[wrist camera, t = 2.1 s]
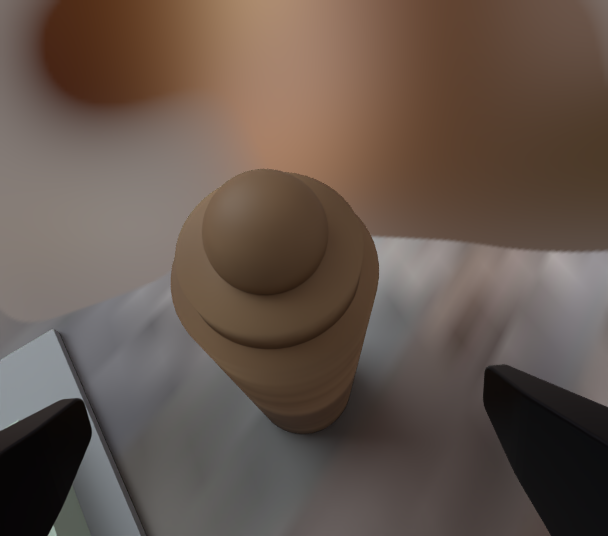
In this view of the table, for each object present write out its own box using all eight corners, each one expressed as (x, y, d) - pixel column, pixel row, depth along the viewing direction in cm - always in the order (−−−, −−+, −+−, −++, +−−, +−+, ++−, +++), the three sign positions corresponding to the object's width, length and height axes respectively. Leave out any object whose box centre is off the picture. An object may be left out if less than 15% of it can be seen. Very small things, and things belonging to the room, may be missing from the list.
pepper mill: (370, 393, 19) (458, 212, 6) (291, 455, 18) (201, 393, 5) (313, 320, 21) (290, 67, 8) (238, 373, 20) (76, 176, 7)
